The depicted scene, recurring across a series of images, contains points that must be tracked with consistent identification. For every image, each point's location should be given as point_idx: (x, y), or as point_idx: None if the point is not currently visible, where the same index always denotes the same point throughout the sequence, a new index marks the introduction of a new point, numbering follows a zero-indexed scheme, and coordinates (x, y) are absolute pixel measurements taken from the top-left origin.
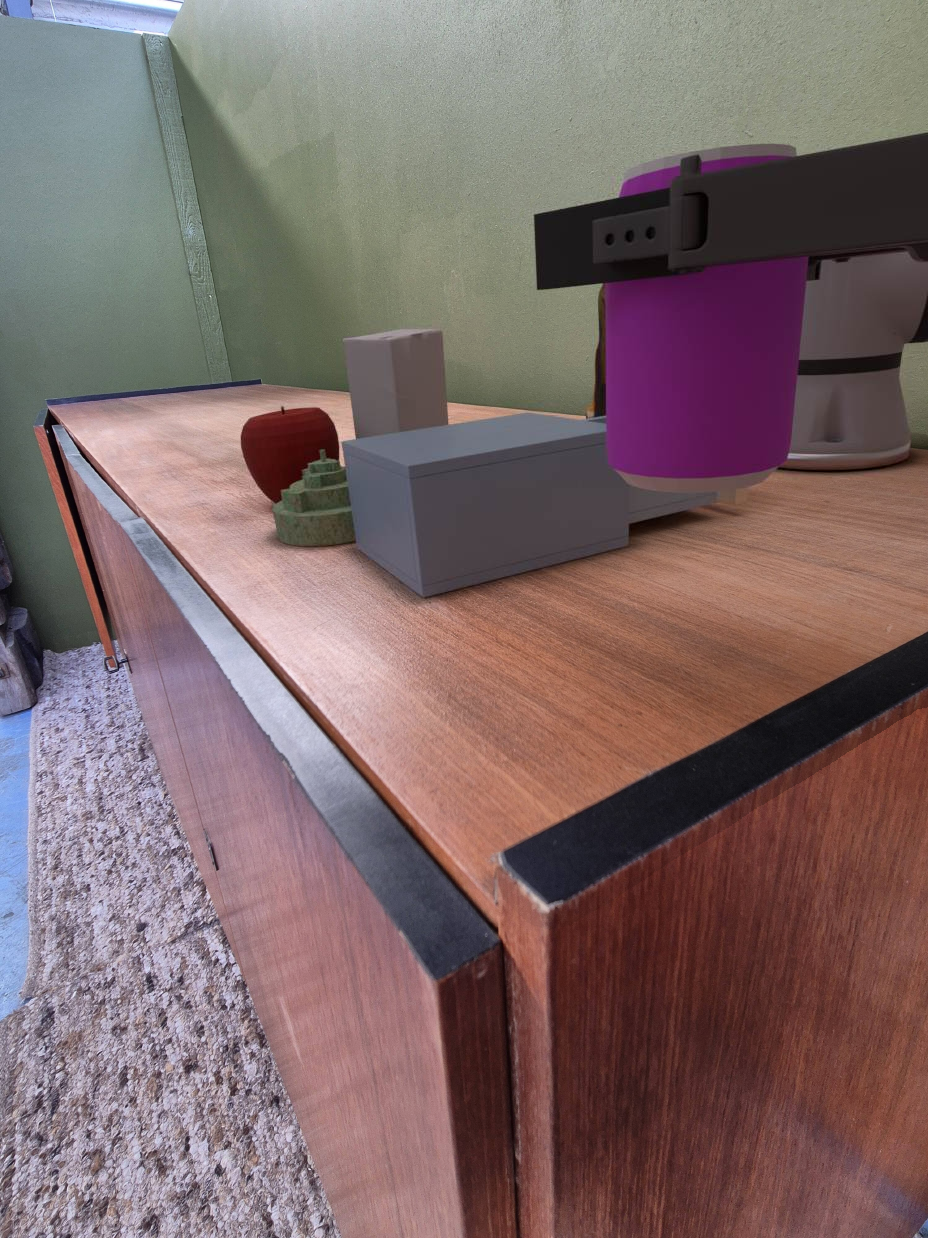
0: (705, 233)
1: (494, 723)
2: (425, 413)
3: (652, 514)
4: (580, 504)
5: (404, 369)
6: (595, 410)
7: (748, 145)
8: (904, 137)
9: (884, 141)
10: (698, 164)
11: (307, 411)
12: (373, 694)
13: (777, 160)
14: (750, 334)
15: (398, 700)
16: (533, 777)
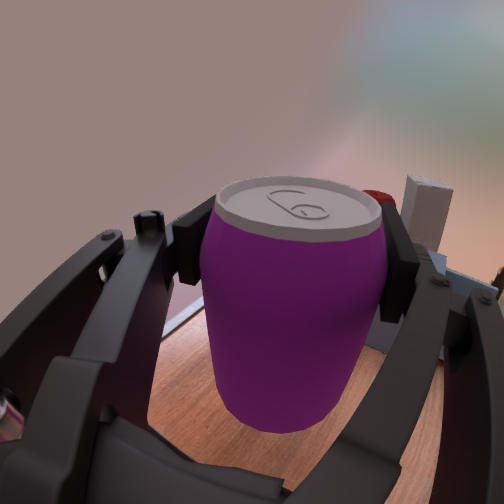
0: (106, 274)
1: (186, 377)
2: (428, 224)
3: (440, 357)
4: (393, 328)
5: (422, 200)
6: (501, 271)
7: (225, 211)
8: (4, 319)
9: (13, 311)
10: (134, 223)
11: (381, 198)
12: (201, 333)
13: (59, 267)
14: (218, 354)
15: (198, 342)
16: (152, 397)
